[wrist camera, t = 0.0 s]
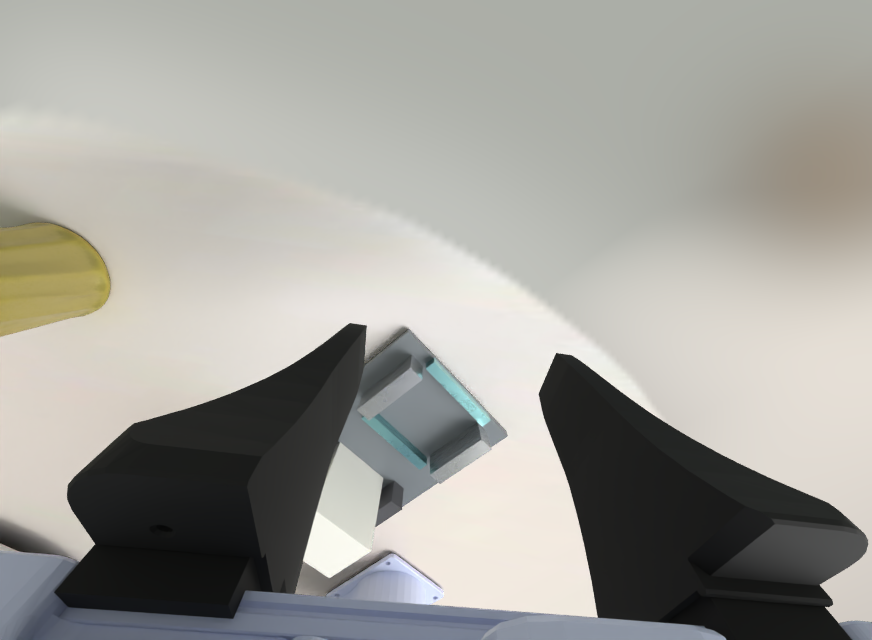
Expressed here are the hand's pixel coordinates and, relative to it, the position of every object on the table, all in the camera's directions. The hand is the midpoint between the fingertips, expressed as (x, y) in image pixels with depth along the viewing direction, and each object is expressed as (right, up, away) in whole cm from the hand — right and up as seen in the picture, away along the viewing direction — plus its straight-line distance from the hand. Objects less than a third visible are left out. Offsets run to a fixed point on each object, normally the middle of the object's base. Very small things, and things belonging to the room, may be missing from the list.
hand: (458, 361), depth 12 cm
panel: (-5, -8, +14) cm, 17 cm away
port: (-2, -6, +13) cm, 14 cm away
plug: (-8, -11, +14) cm, 20 cm away
